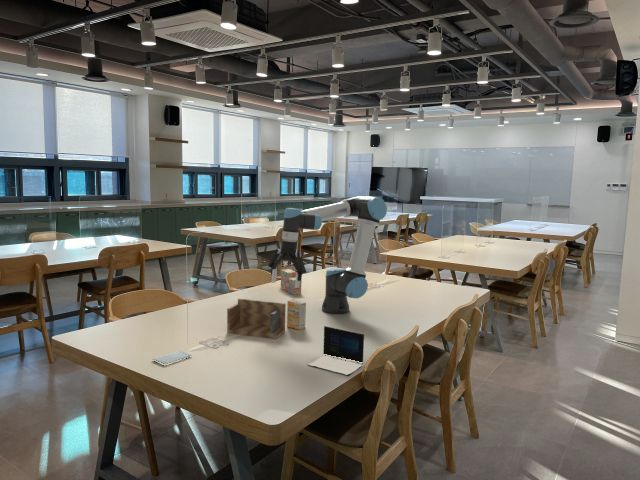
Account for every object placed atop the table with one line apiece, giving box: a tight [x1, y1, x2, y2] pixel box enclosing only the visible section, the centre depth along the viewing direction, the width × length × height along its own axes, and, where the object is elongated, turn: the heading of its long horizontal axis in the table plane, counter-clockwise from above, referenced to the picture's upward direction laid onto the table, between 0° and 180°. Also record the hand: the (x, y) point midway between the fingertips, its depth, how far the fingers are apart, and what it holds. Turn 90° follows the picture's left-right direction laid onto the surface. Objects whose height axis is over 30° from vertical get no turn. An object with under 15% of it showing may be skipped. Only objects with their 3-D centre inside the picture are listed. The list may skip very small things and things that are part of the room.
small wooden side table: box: [226, 298, 287, 340], centre depth 221 cm, size 24×12×14 cm, turn 73°
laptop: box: [322, 325, 365, 363], centre depth 183 cm, size 18×12×13 cm
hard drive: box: [153, 350, 193, 364], centre depth 186 cm, size 2×8×12 cm
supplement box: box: [286, 298, 307, 331], centre depth 229 cm, size 8×5×13 cm, turn 52°
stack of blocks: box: [280, 268, 303, 295], centre depth 305 cm, size 21×6×12 cm, turn 24°
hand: (285, 284), depth 226 cm, fingers open, 13 cm apart
